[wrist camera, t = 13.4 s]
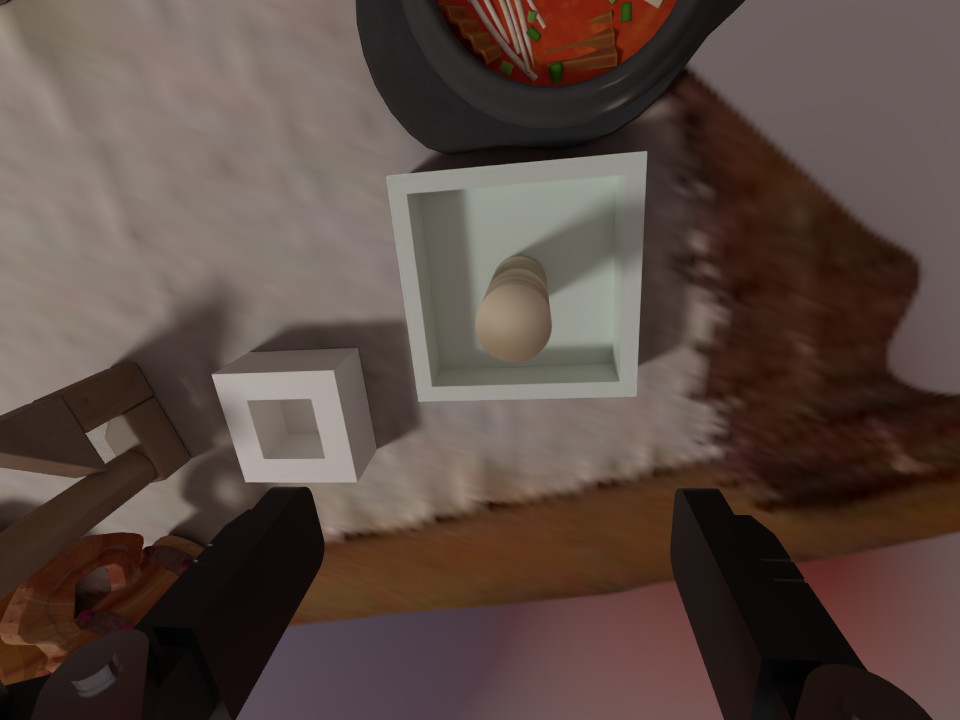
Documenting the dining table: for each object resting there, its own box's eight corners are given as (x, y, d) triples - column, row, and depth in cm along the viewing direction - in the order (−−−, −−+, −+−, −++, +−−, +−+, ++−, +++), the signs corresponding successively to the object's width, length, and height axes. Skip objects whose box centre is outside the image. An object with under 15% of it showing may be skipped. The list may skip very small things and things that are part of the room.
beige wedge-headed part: (136, 360, 42) (-131, 479, 25) (193, 458, 45) (-8, 620, 28) (105, 369, 42) (-175, 490, 26) (163, 465, 46) (-50, 626, 29)
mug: (239, 587, 51) (127, 739, 37) (176, 590, 52) (46, 738, 38) (186, 479, 46) (34, 607, 32) (118, 485, 47) (-55, 611, 33)
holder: (249, 352, 40) (211, 374, 35) (357, 347, 38) (333, 370, 34) (276, 450, 43) (245, 482, 39) (376, 449, 42) (357, 482, 37)
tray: (404, 176, 33) (385, 175, 29) (632, 155, 31) (647, 150, 27) (431, 378, 39) (418, 401, 35) (624, 372, 37) (636, 396, 32)
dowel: (490, 257, 33) (471, 291, 23) (545, 253, 33) (550, 286, 23) (494, 310, 35) (478, 363, 25) (547, 307, 34) (553, 360, 24)
